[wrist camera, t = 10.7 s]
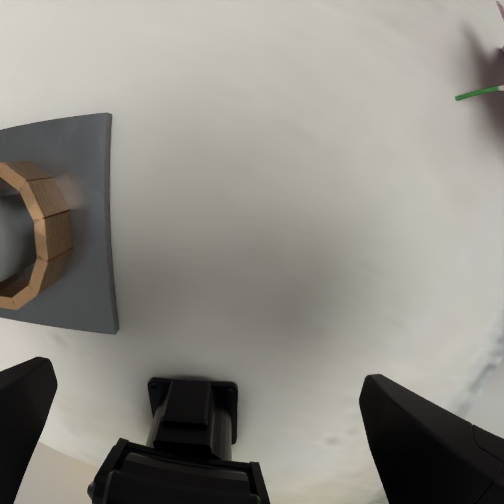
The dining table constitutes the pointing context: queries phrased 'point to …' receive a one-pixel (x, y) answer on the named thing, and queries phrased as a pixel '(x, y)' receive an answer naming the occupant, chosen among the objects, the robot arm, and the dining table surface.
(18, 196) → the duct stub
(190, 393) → the robot arm
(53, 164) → the duct collar
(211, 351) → the dining table surface
